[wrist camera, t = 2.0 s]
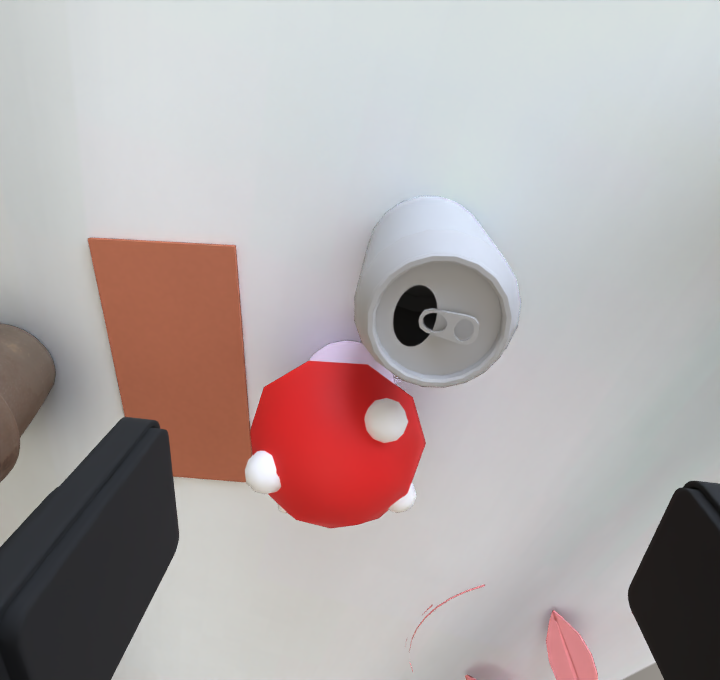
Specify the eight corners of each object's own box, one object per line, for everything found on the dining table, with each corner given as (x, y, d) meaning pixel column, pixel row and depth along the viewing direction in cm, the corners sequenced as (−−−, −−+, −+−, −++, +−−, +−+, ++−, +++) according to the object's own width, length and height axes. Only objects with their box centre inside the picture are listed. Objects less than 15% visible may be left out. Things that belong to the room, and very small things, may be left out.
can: (378, 183, 29) (365, 222, 18) (499, 205, 29) (556, 256, 18) (359, 296, 33) (338, 386, 22) (467, 316, 33) (500, 416, 22)
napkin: (235, 245, 32) (234, 246, 31) (254, 480, 40) (253, 483, 40) (89, 237, 32) (87, 238, 32) (138, 471, 41) (136, 473, 40)
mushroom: (446, 346, 34) (468, 456, 23) (389, 461, 38) (385, 597, 27) (302, 294, 33) (254, 381, 22) (262, 417, 37) (205, 540, 27)
